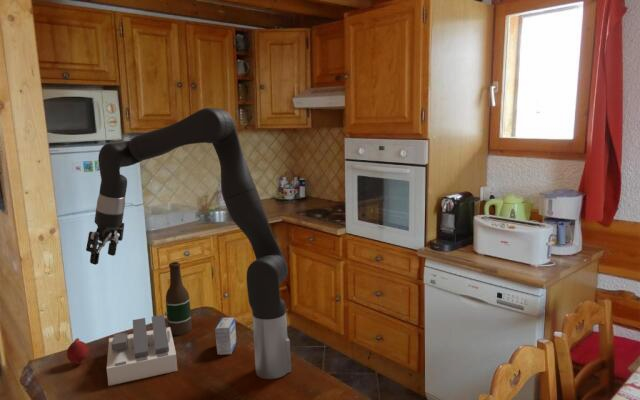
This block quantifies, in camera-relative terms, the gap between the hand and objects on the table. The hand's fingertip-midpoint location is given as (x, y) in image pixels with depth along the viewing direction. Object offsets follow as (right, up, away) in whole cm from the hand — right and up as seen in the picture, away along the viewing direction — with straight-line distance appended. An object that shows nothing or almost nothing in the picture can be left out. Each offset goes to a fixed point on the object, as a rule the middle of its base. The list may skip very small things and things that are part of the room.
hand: (102, 259), depth 141 cm
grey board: (+8, -23, -6) cm, 25 cm away
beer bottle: (+18, -27, +18) cm, 37 cm away
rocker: (+13, -23, -4) cm, 26 cm away
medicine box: (+37, -29, +4) cm, 47 cm away
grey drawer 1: (+18, -22, -2) cm, 28 cm away
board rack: (+13, -30, -3) cm, 33 cm away
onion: (-6, -31, -3) cm, 32 cm away
